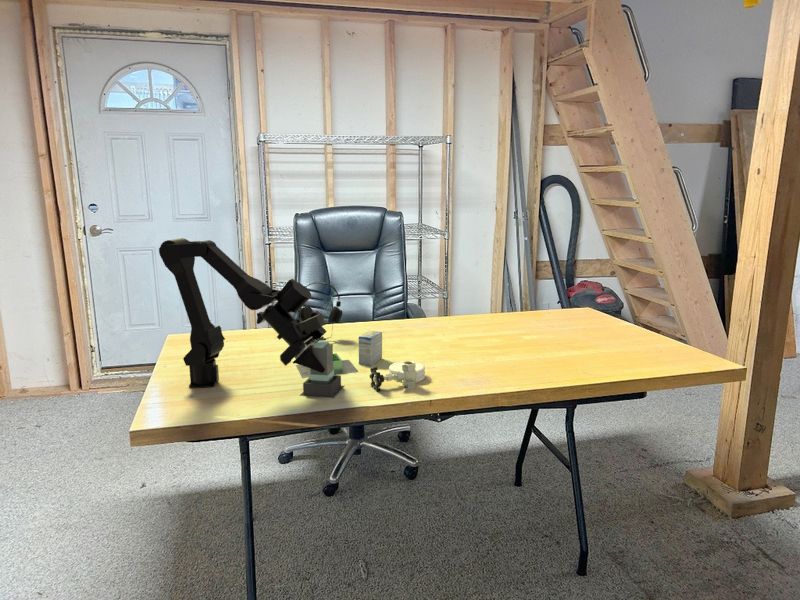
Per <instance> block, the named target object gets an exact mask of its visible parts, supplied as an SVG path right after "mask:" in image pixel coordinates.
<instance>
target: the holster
mask: <svg viewBox="0 0 800 600" xmlns="http://www.w3.org/2000/svg"><path fill="white" fill-rule="evenodd" d="M344 387H345V385H342V376H341V375H340V374H335V375H334V381H333V382H332V383H331V384H318V383H311V380H310V377H308V378H306V380H305V381H303V382H302V389H303V391H302V392H301V393H300V394H299V396H303V397H313V398H325V399H327V398H328V399H335V397H336V396H338V394H339V393H340V392H341V391H342V390H343V388H344Z"/></svg>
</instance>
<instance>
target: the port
mask: <svg viewBox="0 0 800 600" xmlns="http://www.w3.org/2000/svg"><path fill="white" fill-rule="evenodd" d="M295 367H296V368H297V371H298V373H299V375H300V377H301V378H302V379H308V378H310V374H311V372H310V368H308V367H305V366H302V365H299V364H295ZM333 370H334V375H343V374H351V373H359V371H358V369H357V367H356V366H355V365H354V364H353V363H352V362H351V360H349V359H342V358H341V357H340V356H339V354H338V353H333Z"/></svg>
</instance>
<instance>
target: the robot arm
mask: <svg viewBox="0 0 800 600" xmlns="http://www.w3.org/2000/svg"><path fill="white" fill-rule="evenodd" d="M158 253H159V256H160V258H161V261H162V262H163V265H164V267H165V268H167V270H168V271H169V272H171V273H172V275H173V276H174V280H175V282H176V284H177V288H178V291H179V295H180V297H181V299H182V303H183V305H184V309H185V312H186V314H187V318H188V320H189V324H190V327H191V328H190V329H191V330H190V336H189V342H190V350H189V351H188V353H187V354H185V355H184V357H182V360H183V362H184V364H185V366H187V367H189V378H190V383H189V384H188V387H189V388H203V387H204V388H205V387H206V388H207V387H208V388H209V387H214V386H215V385H216V384H217V382H218V381H219V379H220V375H219V373H220V372H219V365H218V364H217V361H216V359H218V358H219V356H220V353H221V351H223V349H224V347H225V340H226V338H225V337H224V335H223V332H222V331H223V330H222V327H221V326H220V325H218V326H216V325H214V324H213V323H212V322H211V320H210V318H209V314H208V311H207V308H206V305H205V301H204V299H203V295H202V292H201V289H200V287H199V284H198V280H197V277H196V274H195V272H194V271H195V270H194V267H195V261H196V258H197V257H199V258H202V259H203V260H204V261H205V262H206V263H207V264H208V265H209V266H210V267H211V268H213V269H214V270H215V271H216V272H217V273H218V274H219V275H221V277H223V278H224V279H225V281H227V282H228V283H229V284H230V285H231V287H233V288H234V289H235V291H236V293H237V296H238V298H239V300H240V301H241V302H242V304H244V305H245V307H246V308H248V309H249V310H251V311H259V310H260V309H263V308H265V307H266V308H265V309H264V310H263V311H259V312H257V313H256V317H257V318H256V324H257V325H260V324H262V323H263V322H264V323H265V322H266V323H267V324H269V326H270V327H271V328H272V329H273V330H274V331H275V332H276V333H277V334H278V335H277V336H276V338H277V339H278V340H281V339H282V340H283V341H284V342H285V343H286V344H287V345H288V346H287V348H285V350H284V351H283V352H282V353H280V355H279V360H280V362H281V363H282V364H283V365H284V366H285V367H287V365H289V364H290V363H291V362H292V360H293V359H294V361H293V362H292V364H295V365H302V366H305V367H308V368H311V369H313V370H316V371H318V372H321V373H323V372H324V371H325V369H324V367H323V366H322V364H321V363H320V362H319V361H318V359H317V358H316V357H315V355H314V354H313V352H312V345H314V344H315V343H317V342H318V341H320V340H323V338H325V337H324V335H325V334H326V333H327V330H326V329H325V328H324V327H323V326H326V322H325V318H326V316H325V315H323V314H322V312H319V311H318V310H315V311H313V313H311V314H310V318H309V319H307V320H305V321H302V320H301V318H300V317H298V318H295V317H294V316H293V315H292V314H291V313H297V312H298V311H300V309H302V308H303V306H305V305H304V304H306V303H307V302H308V301H309V300H310V299H311V298H312V293H311V291H310V290H309V288H308V286H307V285H303V284H302V283H301V282H297V281H296V280H295V279H294V278H290V279H289V280H288V281H287V282H286V283H285V285H284V286H283V287H282V288H281V289H279V290H278V289H273V288H271V287H270V285H268V284H266V283H265V282H263V281H262V280H260V279H258V278H255V277H253V276H251V275H250V274H248V273H247V272H246V271H244V270H243V269H242V267H240V266H239V265H238V264H237V263H235V262H234V260H233V259H231V258H230V257H229V256H228V255H227V254H226V253H224V251H223V250H222V249H220V247H219V246H217V244H216V242H215V241H212V240H210V239H207V240H201V241H200V240H199V241H198V240H197V241H195V240H194V241H190V240H188V239H187V238H183V237H182V238H174V239H169V240H168V239H167V240H164V241H163V242H162V243H160V246H159V247H158ZM306 286H307V287H306ZM274 302H275V304H273V303H274ZM271 304H273V305H271Z"/></svg>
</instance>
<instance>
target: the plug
mask: <svg viewBox="0 0 800 600" xmlns="http://www.w3.org/2000/svg"><path fill="white" fill-rule="evenodd" d="M329 341H330V340H320V341H318V342H317V343H315V344H314V345H312V352H313V354H314V355H315V357H316V358H317V359H318V361H319V362H320V363H321V364H322V366H323V367H324V369H325V371H324V372H323V373H321V372H318V371H316V370H313V369H311V368H310V372H311V374H310V377H309V378H310V380H311V383H318V384H331V383H332V382H333V381H334V370H333V354H334V346H333V345H334V344H332V343H329Z"/></svg>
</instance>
